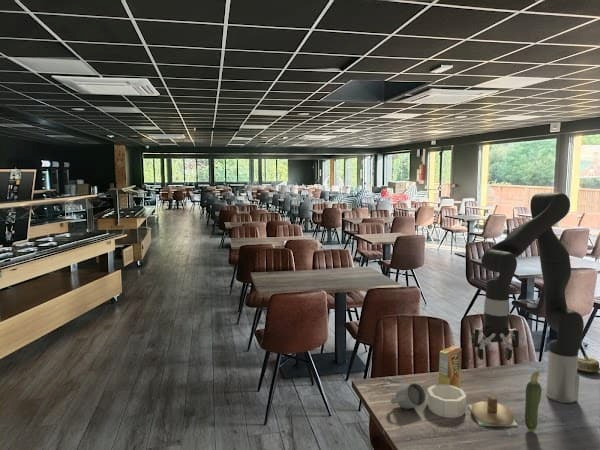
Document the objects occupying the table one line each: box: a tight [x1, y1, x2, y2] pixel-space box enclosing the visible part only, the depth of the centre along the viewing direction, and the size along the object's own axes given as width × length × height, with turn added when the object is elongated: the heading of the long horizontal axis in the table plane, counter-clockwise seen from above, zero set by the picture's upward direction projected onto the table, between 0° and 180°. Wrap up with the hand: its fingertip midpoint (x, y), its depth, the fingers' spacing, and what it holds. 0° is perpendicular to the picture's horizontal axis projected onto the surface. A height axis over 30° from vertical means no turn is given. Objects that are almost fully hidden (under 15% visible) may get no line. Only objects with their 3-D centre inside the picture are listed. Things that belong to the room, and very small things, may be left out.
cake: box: [577, 355, 600, 373], centre depth 188 cm, size 10×10×5 cm
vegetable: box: [524, 371, 543, 433], centre depth 142 cm, size 4×4×20 cm
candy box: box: [438, 345, 463, 388], centre depth 170 cm, size 9×4×15 cm, turn 129°
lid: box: [470, 395, 515, 425], centre depth 151 cm, size 13×13×6 cm
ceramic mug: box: [390, 382, 427, 410], centre depth 155 cm, size 11×8×8 cm
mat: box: [467, 404, 519, 428], centre depth 151 cm, size 12×12×1 cm
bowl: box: [426, 383, 467, 419], centre depth 156 cm, size 12×12×6 cm
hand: (494, 359), depth 149 cm, fingers open, 8 cm apart
